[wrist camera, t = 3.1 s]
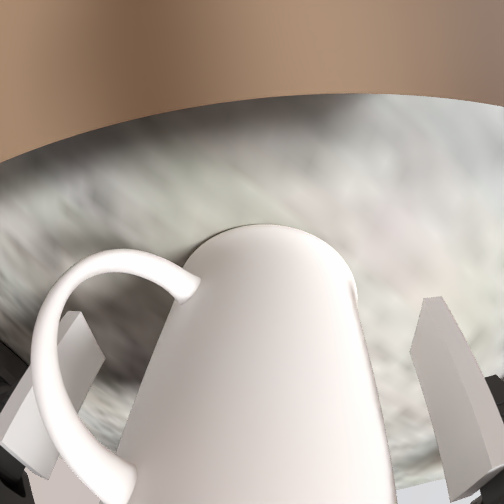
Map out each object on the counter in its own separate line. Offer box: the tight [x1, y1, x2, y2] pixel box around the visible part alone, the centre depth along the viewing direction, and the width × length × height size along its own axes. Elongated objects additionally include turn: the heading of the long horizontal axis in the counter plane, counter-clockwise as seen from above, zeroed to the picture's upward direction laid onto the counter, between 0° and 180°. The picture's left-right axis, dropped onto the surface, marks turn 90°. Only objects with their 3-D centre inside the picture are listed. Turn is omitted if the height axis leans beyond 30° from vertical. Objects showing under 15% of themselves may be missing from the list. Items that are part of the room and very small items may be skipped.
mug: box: [31, 224, 398, 504], centre depth 9 cm, size 12×8×12 cm
